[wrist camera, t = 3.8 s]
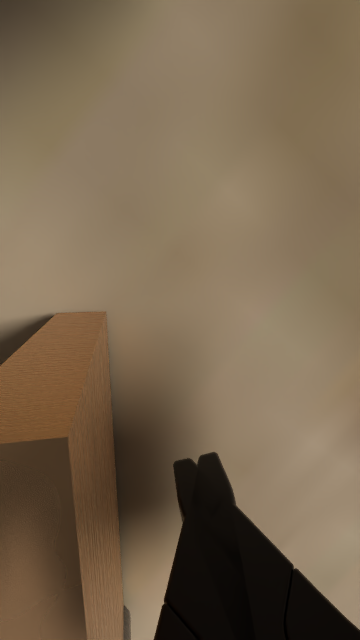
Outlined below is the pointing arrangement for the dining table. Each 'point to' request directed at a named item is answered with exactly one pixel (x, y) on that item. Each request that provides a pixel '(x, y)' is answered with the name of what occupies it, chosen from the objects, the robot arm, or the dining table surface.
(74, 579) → the rectangular wooden block
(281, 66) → the dining table surface
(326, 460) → the dining table surface
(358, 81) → the dining table surface
